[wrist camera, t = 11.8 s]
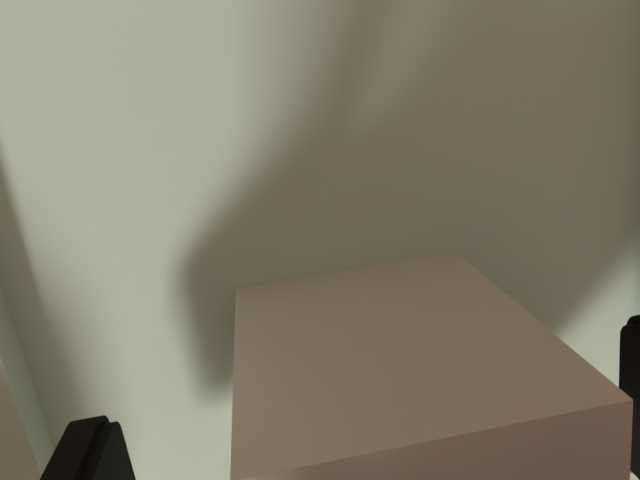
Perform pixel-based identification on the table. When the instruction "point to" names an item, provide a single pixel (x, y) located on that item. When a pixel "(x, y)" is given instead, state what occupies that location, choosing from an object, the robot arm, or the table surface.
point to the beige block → (414, 383)
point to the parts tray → (290, 187)
